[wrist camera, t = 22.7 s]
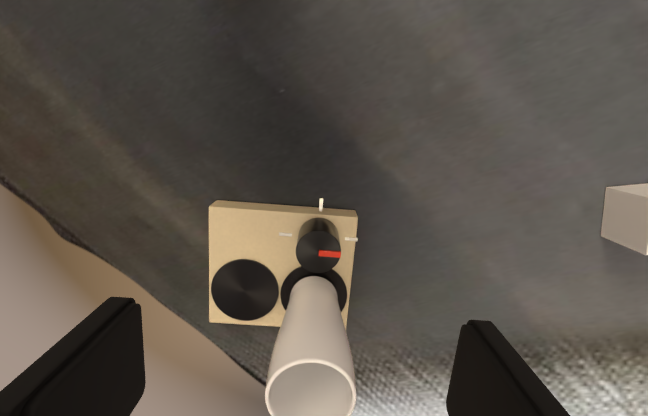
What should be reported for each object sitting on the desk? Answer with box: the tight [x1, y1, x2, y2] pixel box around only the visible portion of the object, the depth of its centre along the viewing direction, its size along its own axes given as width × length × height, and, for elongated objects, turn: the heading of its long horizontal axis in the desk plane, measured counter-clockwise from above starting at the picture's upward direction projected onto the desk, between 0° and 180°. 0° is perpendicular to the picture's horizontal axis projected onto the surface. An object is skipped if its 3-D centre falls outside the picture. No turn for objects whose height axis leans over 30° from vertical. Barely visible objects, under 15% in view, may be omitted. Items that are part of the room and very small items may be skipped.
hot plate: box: [209, 198, 358, 330], centre depth 40 cm, size 16×16×3 cm
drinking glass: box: [265, 276, 356, 416], centre depth 32 cm, size 7×7×15 cm
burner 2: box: [280, 266, 347, 312], centre depth 40 cm, size 8×8×1 cm
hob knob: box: [296, 218, 341, 273], centre depth 36 cm, size 4×4×5 cm
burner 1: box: [211, 259, 279, 321], centre depth 39 cm, size 8×8×1 cm
